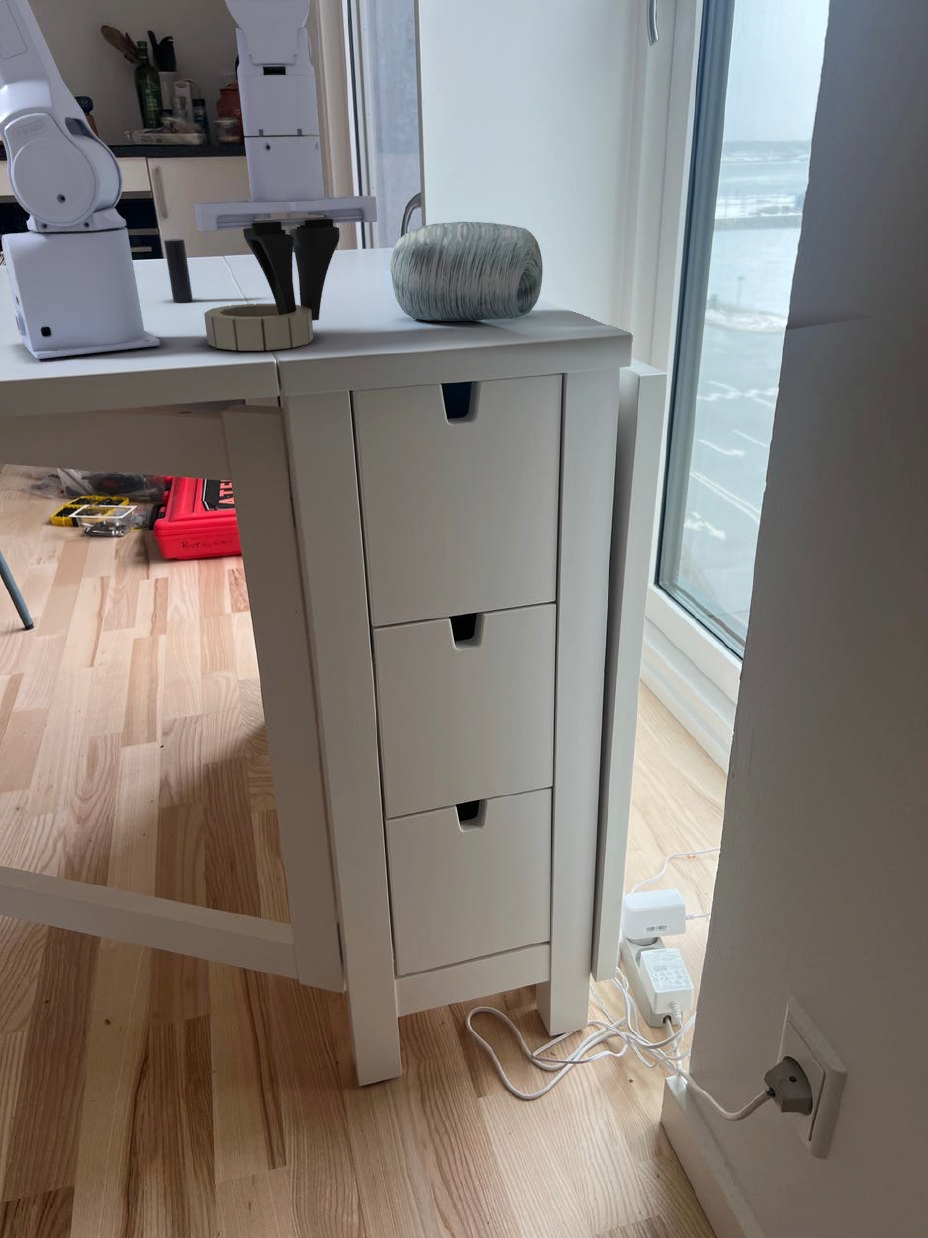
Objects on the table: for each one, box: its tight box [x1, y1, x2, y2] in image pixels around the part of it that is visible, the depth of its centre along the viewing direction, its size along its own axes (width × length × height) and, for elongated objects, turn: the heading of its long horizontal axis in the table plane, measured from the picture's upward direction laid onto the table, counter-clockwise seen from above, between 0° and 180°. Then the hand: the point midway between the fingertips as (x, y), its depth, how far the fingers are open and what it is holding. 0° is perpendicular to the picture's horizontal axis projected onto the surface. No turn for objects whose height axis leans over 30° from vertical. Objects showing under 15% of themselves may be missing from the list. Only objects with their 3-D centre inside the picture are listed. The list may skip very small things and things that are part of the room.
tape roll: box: [203, 303, 314, 352], centre depth 75 cm, size 8×8×2 cm
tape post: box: [163, 238, 194, 303], centre depth 96 cm, size 2×2×6 cm
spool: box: [389, 221, 544, 322], centre depth 82 cm, size 14×10×10 cm
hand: (299, 320), depth 77 cm, fingers closed on tape roll, 1 cm apart
